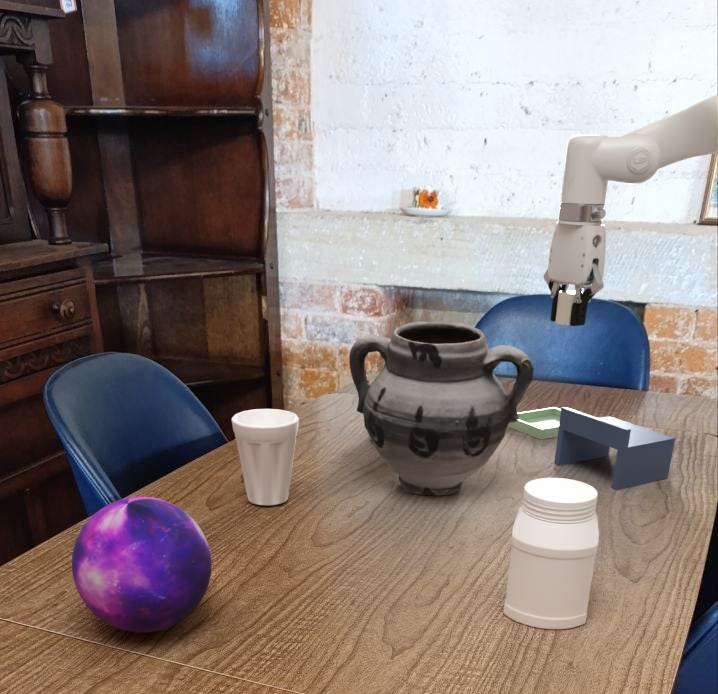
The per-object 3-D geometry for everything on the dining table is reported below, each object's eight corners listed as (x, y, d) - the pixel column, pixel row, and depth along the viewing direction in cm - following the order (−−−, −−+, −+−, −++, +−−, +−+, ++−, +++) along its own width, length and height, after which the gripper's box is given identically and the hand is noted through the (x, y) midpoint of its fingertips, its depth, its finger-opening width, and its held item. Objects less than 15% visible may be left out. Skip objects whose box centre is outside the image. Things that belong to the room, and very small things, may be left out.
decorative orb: (62, 614, 102) (43, 493, 95) (181, 583, 110) (171, 469, 103) (110, 672, 91) (92, 540, 84) (238, 633, 99) (231, 509, 92)
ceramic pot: (530, 475, 148) (548, 322, 136) (506, 524, 129) (525, 351, 117) (369, 455, 156) (372, 309, 144) (324, 498, 137) (323, 334, 125)
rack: (603, 453, 160) (612, 399, 155) (667, 478, 148) (679, 420, 144) (554, 463, 154) (561, 407, 149) (616, 490, 143) (626, 430, 138)
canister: (567, 320, 164) (571, 289, 162) (584, 324, 161) (588, 293, 158) (550, 322, 162) (553, 291, 160) (566, 326, 159) (570, 294, 156)
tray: (553, 416, 181) (554, 406, 180) (591, 430, 173) (593, 420, 172) (503, 424, 175) (504, 415, 174) (540, 439, 166) (542, 429, 166)
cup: (300, 512, 132) (299, 426, 126) (233, 512, 131) (229, 427, 125) (300, 488, 141) (298, 408, 134) (237, 489, 140) (233, 408, 134)
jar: (508, 581, 112) (521, 469, 105) (585, 590, 110) (603, 477, 103) (501, 624, 102) (514, 503, 95) (585, 634, 100) (605, 512, 93)
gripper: (632, 218, 148) (615, 329, 157) (563, 211, 161) (551, 314, 170) (600, 219, 145) (584, 332, 154) (532, 211, 158) (521, 317, 166)
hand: (567, 321), depth 162 cm, fingers closed on canister, 4 cm apart
